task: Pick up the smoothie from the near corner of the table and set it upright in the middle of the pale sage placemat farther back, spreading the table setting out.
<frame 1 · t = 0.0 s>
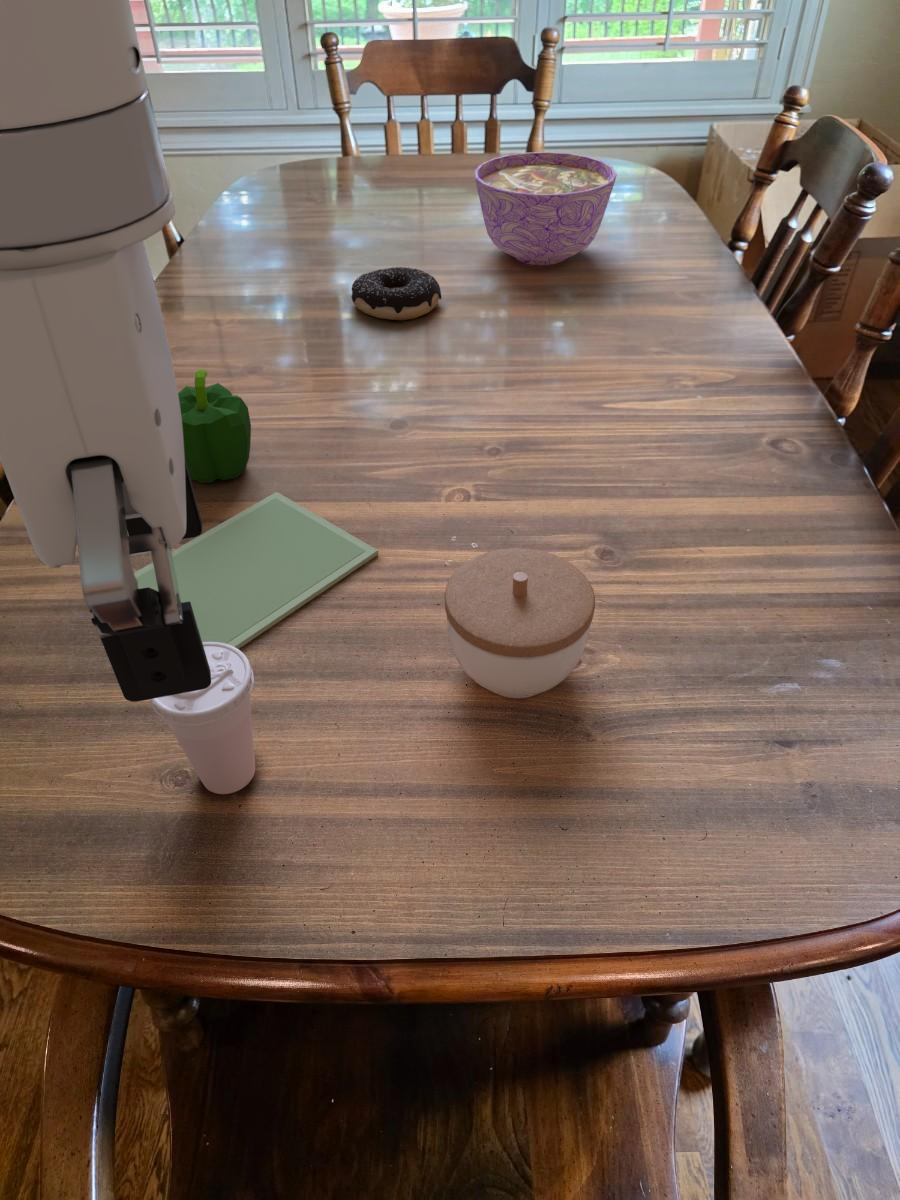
hand: (169, 606, 37), 24 cm above the table, tool pointing down, fingers open, 9 cm apart
bell pepper: (219, 471, 88), on the table
bowl of food: (540, 256, 130), on the table
trinket box: (515, 670, 67), on the table
placemat: (240, 576, 76), on the table
donut: (395, 307, 117), on the table
smoothie: (229, 773, 60), on the table
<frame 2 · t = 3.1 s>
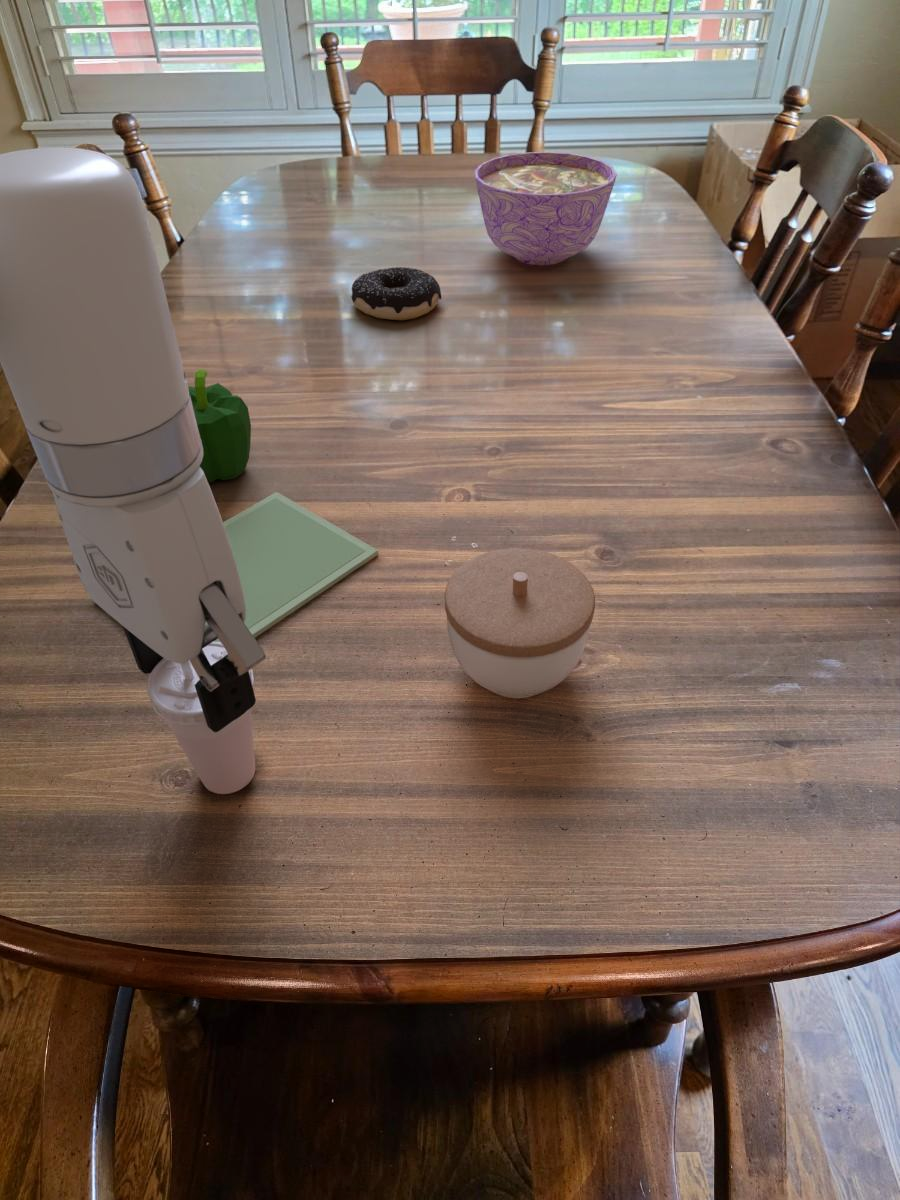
hand: (196, 685, 54), 9 cm above the table, tool pointing down, fingers closed on smoothie, 6 cm apart
smoothie: (229, 773, 60), on the table, touching gripper
everything else where it was.
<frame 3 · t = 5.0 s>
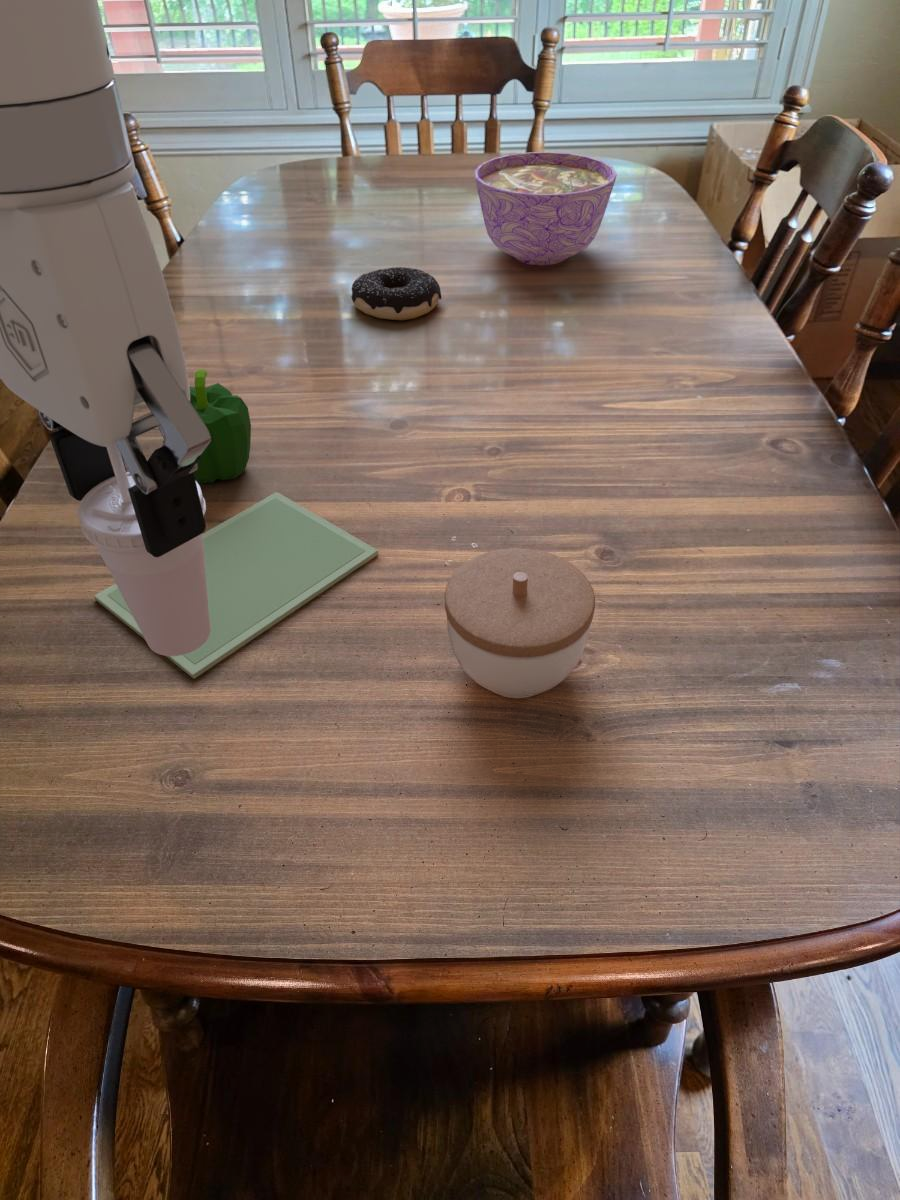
hand: (137, 512, 45), 22 cm above the table, tool pointing down, fingers closed on smoothie, 6 cm apart
smoothie: (179, 636, 52), point 13 cm above the table, touching gripper
everything else where it was.
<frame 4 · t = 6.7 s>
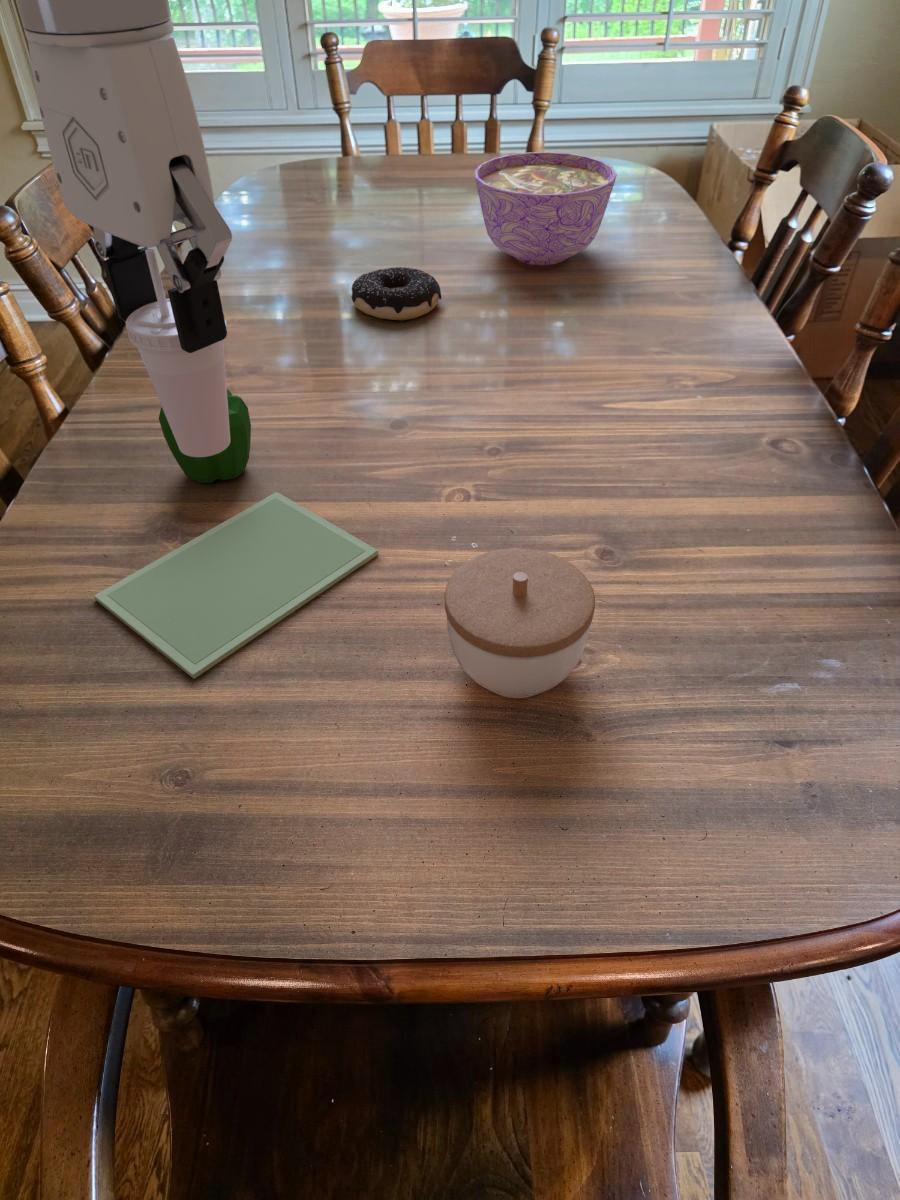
hand: (172, 326, 57), 24 cm above the table, tool pointing down, fingers closed on smoothie, 6 cm apart
smoothie: (205, 445, 63), point 15 cm above the table, touching gripper
everything else where it was.
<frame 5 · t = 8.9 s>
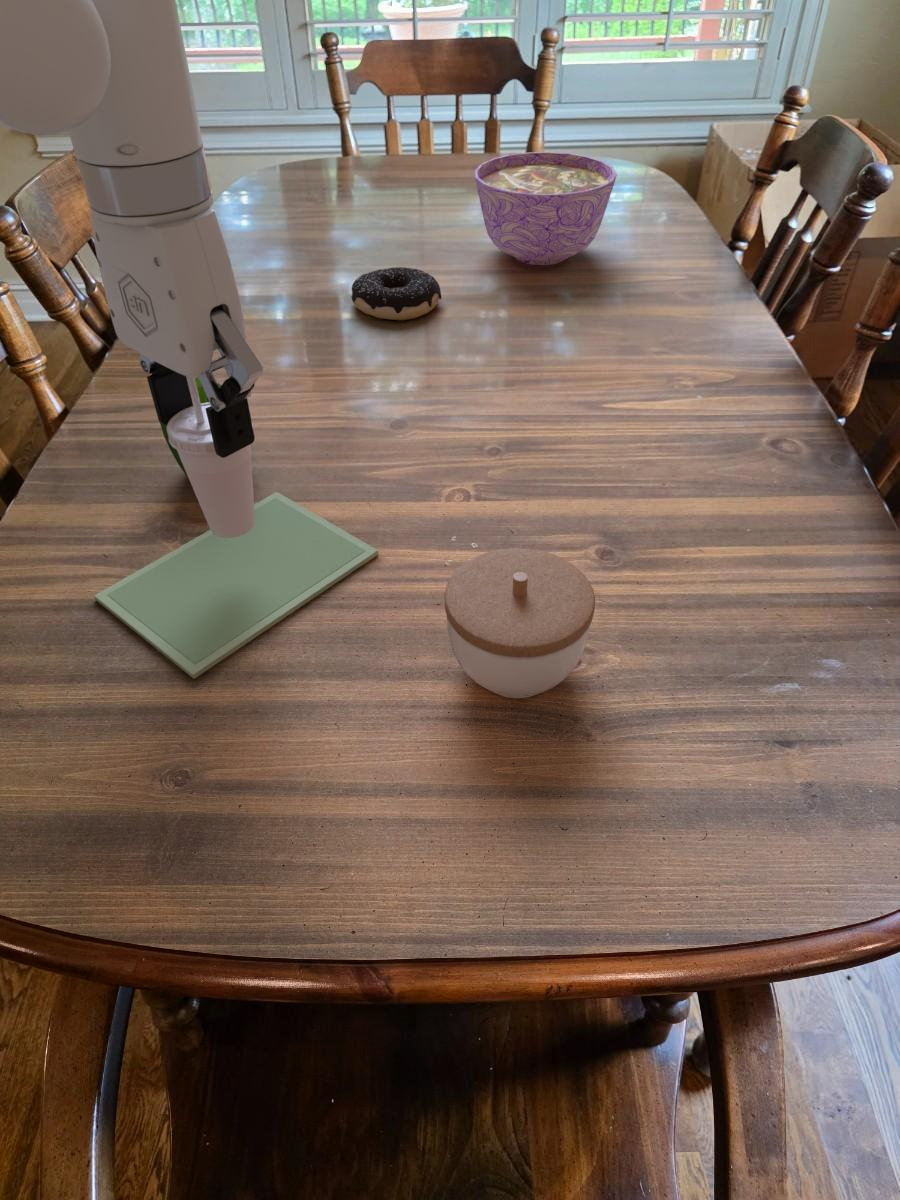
hand: (206, 430, 66), 15 cm above the table, tool pointing down, fingers closed on smoothie, 6 cm apart
smoothie: (233, 526, 72), point 5 cm above the table, touching gripper
everything else where it was.
when the fingers open (10 cm above the table, at t = 10.6 s): smoothie stays where it is, resting on placemat.
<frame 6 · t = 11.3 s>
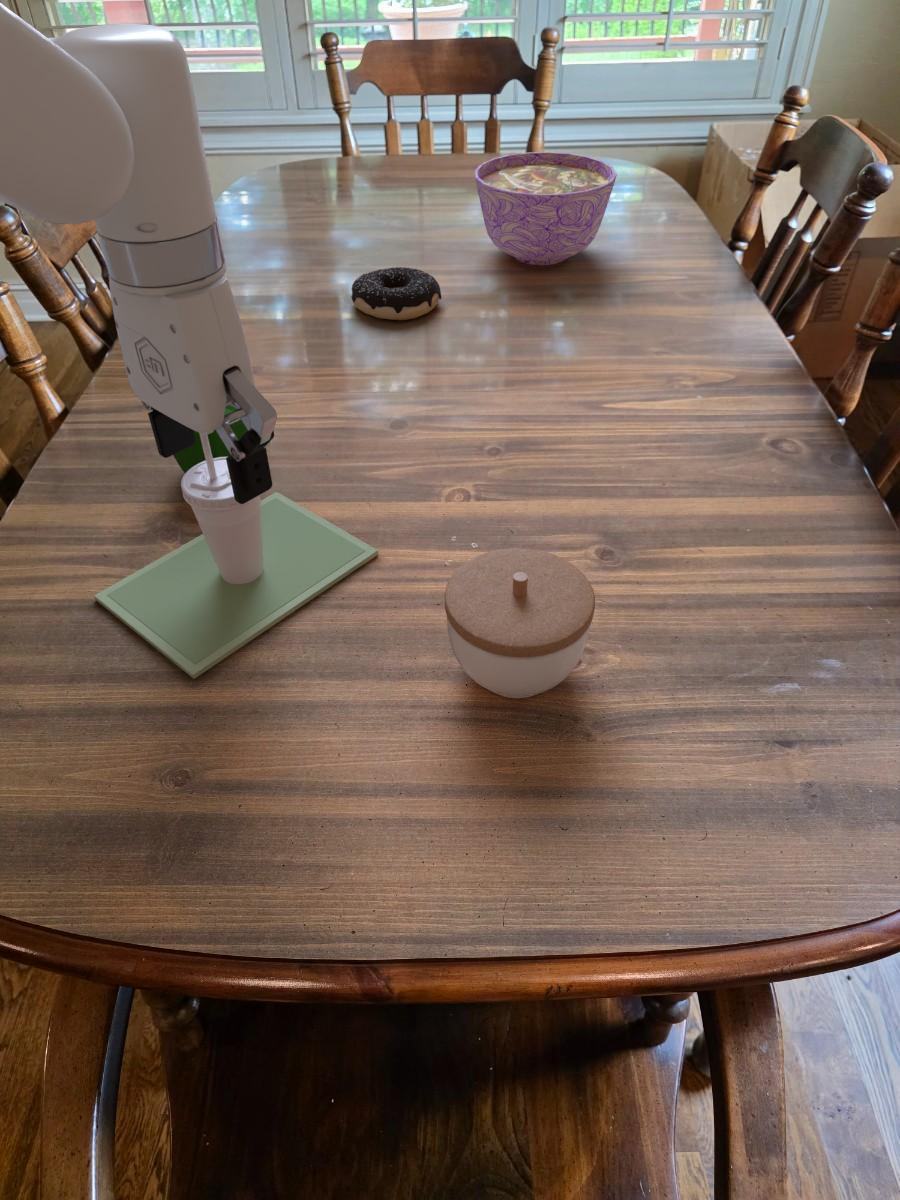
hand: (215, 471, 68), 11 cm above the table, tool pointing down, fingers open, 9 cm apart
smoothie: (242, 572, 75), resting on placemat
everything else where it was.
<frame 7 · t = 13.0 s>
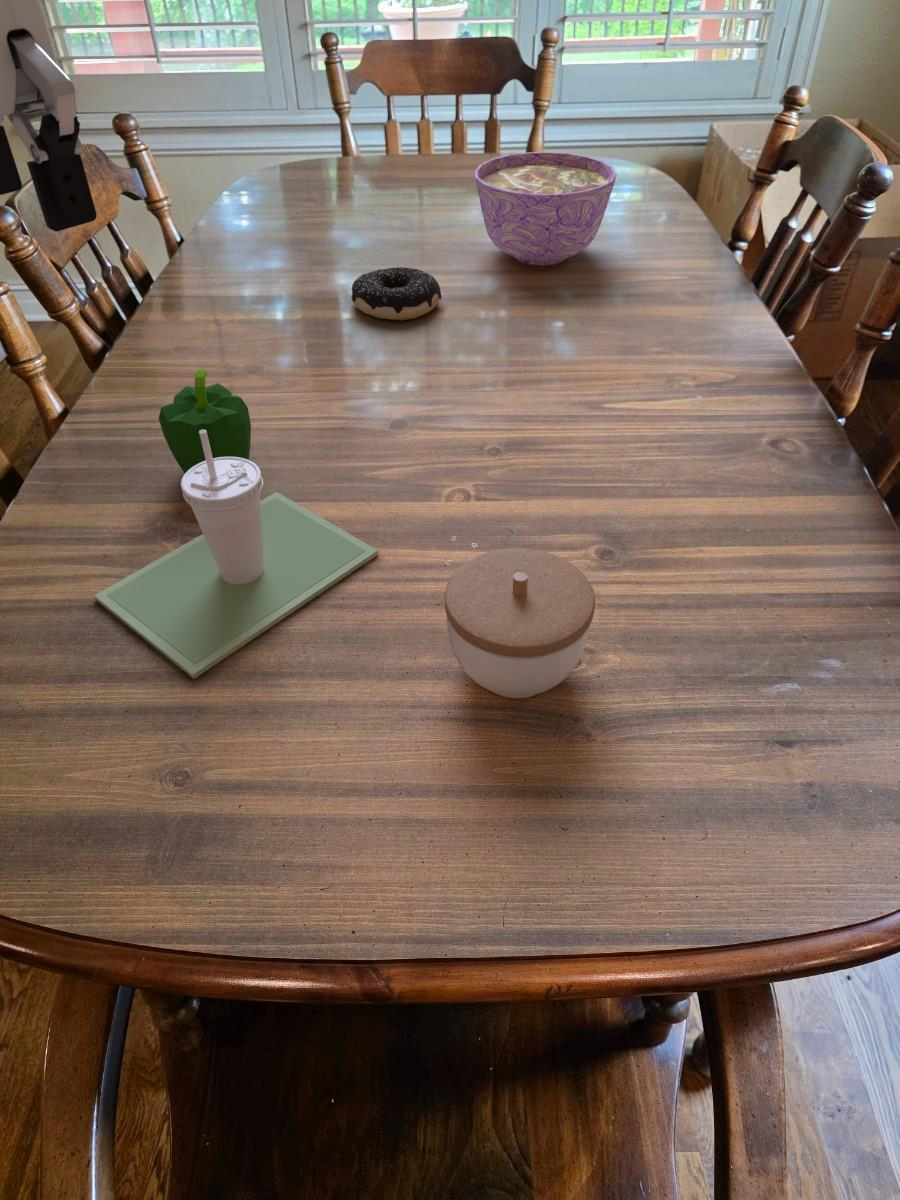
hand: (35, 208, 58), 30 cm above the table, tool pointing down, fingers open, 9 cm apart
nothing on the table moved.
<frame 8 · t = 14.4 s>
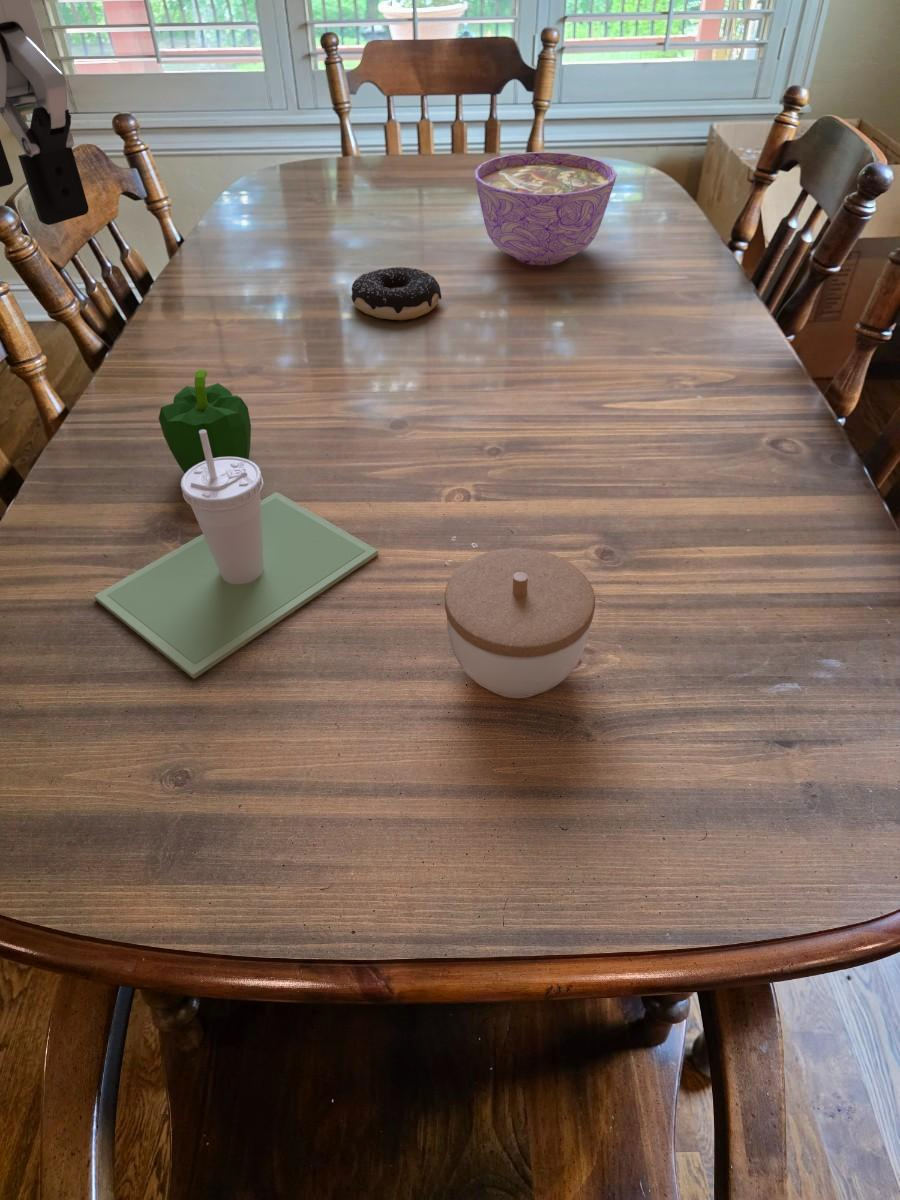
hand: (26, 202, 58), 30 cm above the table, tool pointing down, fingers open, 9 cm apart
nothing on the table moved.
at the end: smoothie inside the target area on the placemat (0.3 cm from its centre), point 0.4 cm above the placemat's base; smoothie tilted 0°; the gripper is holding nothing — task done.
